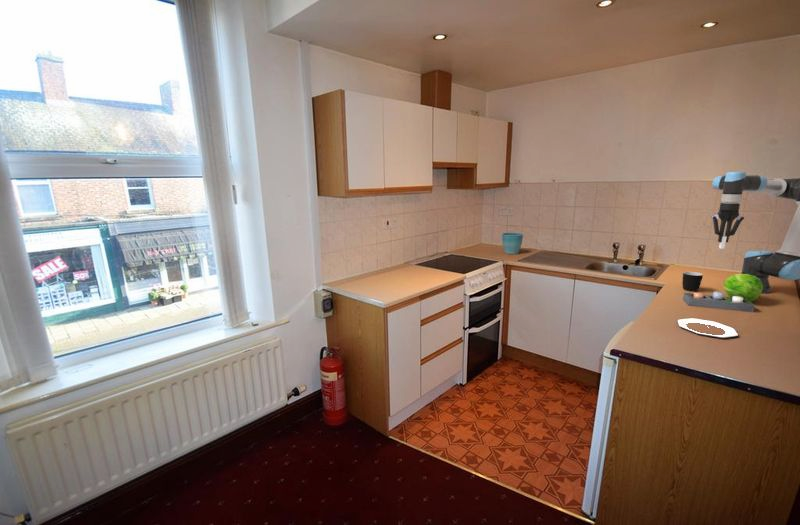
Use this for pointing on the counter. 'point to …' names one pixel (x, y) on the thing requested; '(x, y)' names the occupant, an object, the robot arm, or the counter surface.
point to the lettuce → (743, 286)
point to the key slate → (718, 295)
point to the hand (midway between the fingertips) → (721, 248)
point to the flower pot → (512, 242)
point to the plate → (728, 330)
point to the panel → (718, 303)
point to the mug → (691, 281)
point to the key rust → (698, 295)
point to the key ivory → (737, 298)
